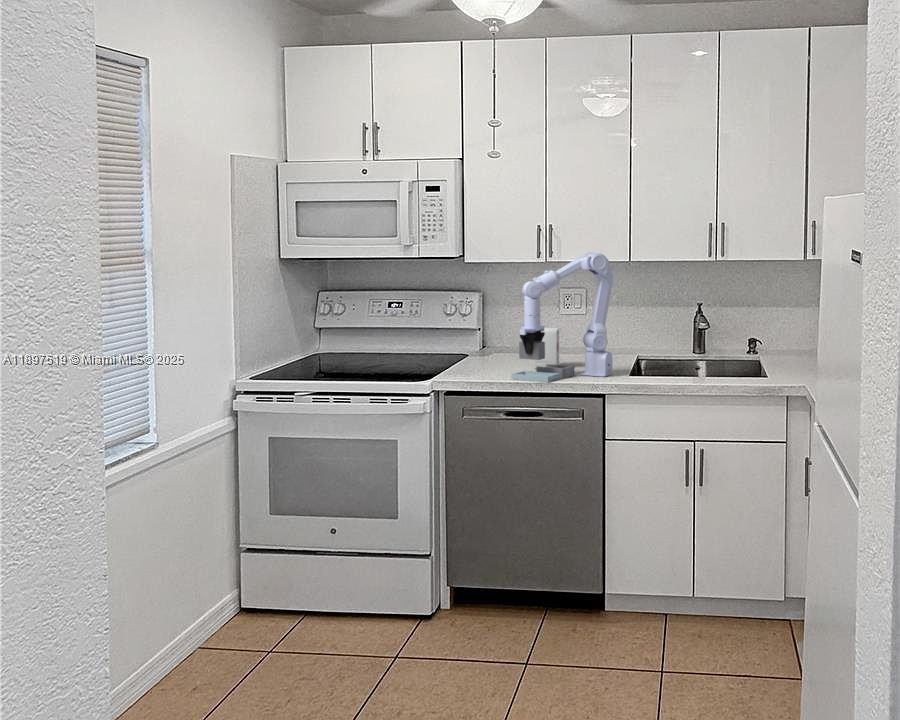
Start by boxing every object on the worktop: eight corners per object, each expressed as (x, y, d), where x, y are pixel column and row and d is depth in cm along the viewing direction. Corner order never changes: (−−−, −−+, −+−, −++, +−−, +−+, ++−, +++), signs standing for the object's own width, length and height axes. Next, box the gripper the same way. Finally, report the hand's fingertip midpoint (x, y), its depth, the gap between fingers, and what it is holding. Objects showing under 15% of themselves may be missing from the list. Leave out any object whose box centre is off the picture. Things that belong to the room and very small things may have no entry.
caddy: (544, 358, 412) (544, 340, 411) (538, 360, 408) (538, 341, 407) (525, 357, 417) (525, 338, 416) (519, 358, 413) (519, 340, 412)
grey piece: (557, 369, 433) (557, 330, 431) (533, 369, 434) (533, 329, 432) (559, 366, 441) (559, 327, 439) (536, 366, 443) (536, 327, 441)
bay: (574, 375, 418) (574, 365, 417) (563, 378, 411) (563, 368, 410) (547, 373, 423) (547, 363, 423) (536, 376, 416) (536, 366, 416)
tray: (559, 379, 409) (559, 373, 409) (547, 382, 402) (547, 376, 402) (523, 376, 417) (523, 370, 417) (511, 379, 410) (511, 373, 409)
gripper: (532, 313, 418) (532, 350, 420) (512, 316, 406) (512, 354, 408) (549, 313, 415) (549, 351, 416) (529, 317, 403) (529, 355, 404)
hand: (532, 353), depth 412 cm, fingers closed on caddy, 4 cm apart
